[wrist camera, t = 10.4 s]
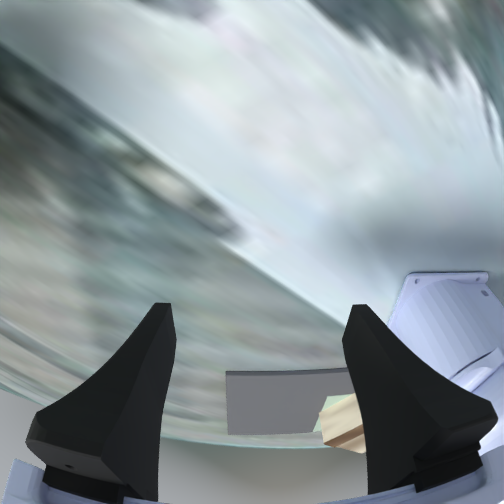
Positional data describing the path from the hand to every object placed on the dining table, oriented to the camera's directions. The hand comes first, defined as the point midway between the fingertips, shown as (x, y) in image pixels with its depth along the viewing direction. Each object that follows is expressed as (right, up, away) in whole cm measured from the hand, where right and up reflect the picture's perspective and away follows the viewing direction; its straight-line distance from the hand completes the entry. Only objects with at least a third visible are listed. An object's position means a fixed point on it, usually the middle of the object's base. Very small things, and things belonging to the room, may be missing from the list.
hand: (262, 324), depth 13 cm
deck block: (+12, -16, +21) cm, 29 cm away
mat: (+7, -14, +20) cm, 25 cm away
